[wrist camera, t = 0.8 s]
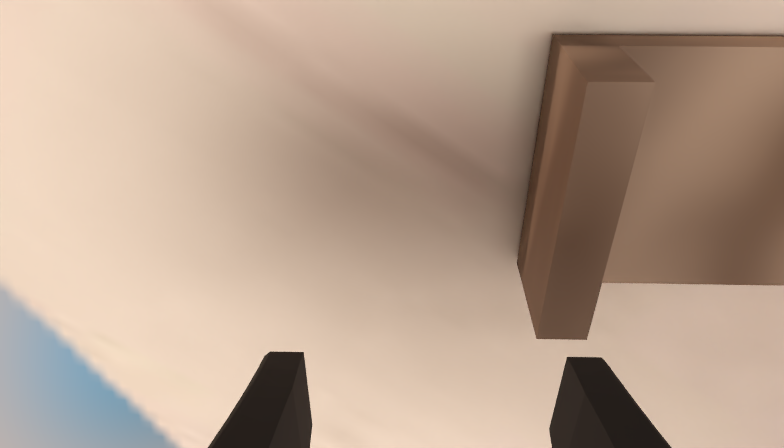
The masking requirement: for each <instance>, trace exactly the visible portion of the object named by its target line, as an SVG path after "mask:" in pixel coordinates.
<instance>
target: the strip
mask: <svg viewBox="0 0 784 448" xmlns="http://www.w3.org/2000/svg"><path fill="white" fill-rule="evenodd" d="M517 265H518V269H519V273H520V277H521V280H522V284H523V288H524V292H525V296H526V300H527V304H528V308H529V311H530V315H531V319H532V323H533V327H534V331H535V335H536V338H537V339H579V340H587V336H588V333H589V329H590V325H591V322H592V318H593V314H594V310H595V307H596V303H597V299H598V295H599V292H600V288H601V284H602V283H662V284H726V285H784V37H782V36H661V35H553V37H552V43H551V50H550V56H549V63H548V69H547V75H546V82H545V88H544V94H543V101H542V107H541V114H540V120H539V126H538V133H537V139H536V145H535V152H534V158H533V165H532V171H531V177H530V184H529V190H528V196H527V203H526V209H525V216H524V222H523V228H522V235H521V241H520V248H519V254H518V260H517Z"/></svg>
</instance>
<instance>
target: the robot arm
mask: <svg viewBox="0 0 784 448" xmlns="http://www.w3.org/2000/svg"><path fill="white" fill-rule="evenodd" d="M549 430H550V437H551V444H552V448H671V447H670V445H669V444H668V443H667V442H666V440H665V439H664V438H663V437H662V435H661V434H660V433H659V432H658V430H657V429H656V428H655V427H654V425H653V424H652V423H651V421H650V420H649V419H648V417H647V416H646V415H645V414H644V412H643V411H642V410H641V408H640V407H639V406H638V405H637V403H636V402H635V401H634V399H633V398H632V397H631V395H630V394H629V393H628V391H627V390H626V389H625V387H624V386H623V385H622V383H621V382H620V381H619V379H618V378H617V376H616V375H615V374H614V372H613V371H612V370H611V368H610V367H609V366H608V364H607V363H606V362H605V361H604V360H603V359H602V358H596V357H567V360H566V364H565V368H564V372H563V376H562V380H561V384H560V388H559V392H558V396H557V400H556V404H555V408H554V412H553V416H552V420H551V424H550V428H549ZM311 431H312V419H311V410H310V402H309V393H308V385H307V377H306V368H305V360H304V352H269V353H268V354H267V355H265V356H264V358H263V360H262V362H261V364H260V366H259V368H258V369H257V371H256V373H255V375H254V376H253V378H252V380H251V382H250V383H249V385H248V387H247V388H246V390H245V392H244V393H243V395H242V396H241V398H240V400H239V401H238V403H237V404H236V406H235V408H234V409H233V411H232V412H231V414H230V416H229V417H228V419H227V420H226V422H225V423H224V425H223V426H222V428H221V429H220V431H219V432H218V433H217V435H216V436H215V438H214V439H213V441H212V442H211V444H210V445H209V447H208V448H310V440H311Z"/></svg>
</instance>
